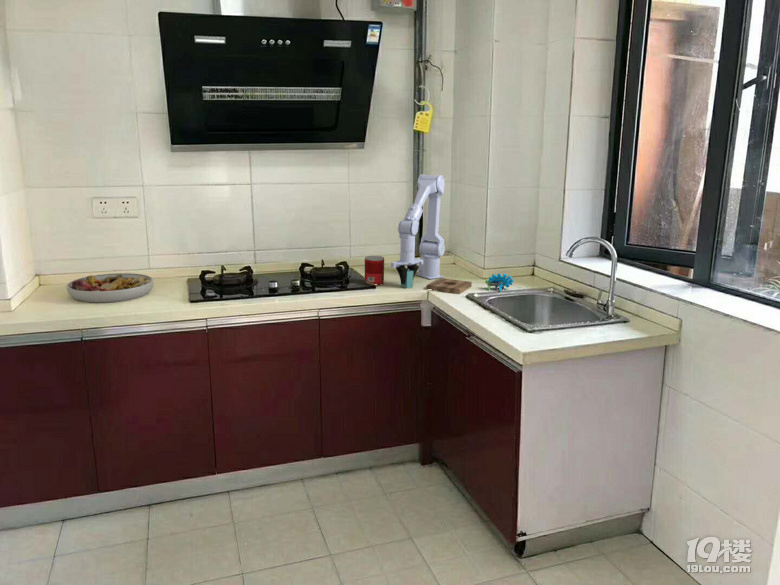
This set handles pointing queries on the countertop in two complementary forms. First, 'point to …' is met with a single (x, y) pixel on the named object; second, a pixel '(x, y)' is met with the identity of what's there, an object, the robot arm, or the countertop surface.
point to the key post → (408, 279)
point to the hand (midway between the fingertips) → (406, 283)
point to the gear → (499, 281)
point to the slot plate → (449, 285)
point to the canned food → (374, 269)
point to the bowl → (110, 287)
